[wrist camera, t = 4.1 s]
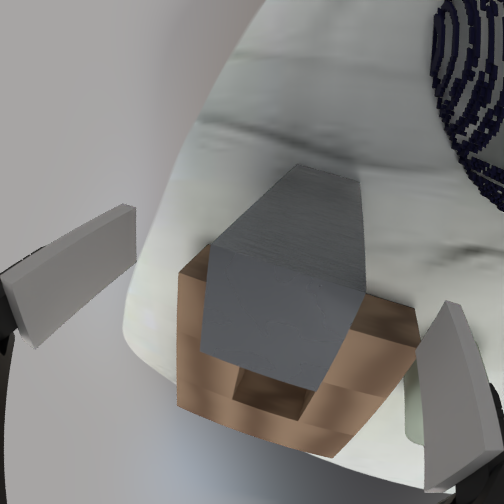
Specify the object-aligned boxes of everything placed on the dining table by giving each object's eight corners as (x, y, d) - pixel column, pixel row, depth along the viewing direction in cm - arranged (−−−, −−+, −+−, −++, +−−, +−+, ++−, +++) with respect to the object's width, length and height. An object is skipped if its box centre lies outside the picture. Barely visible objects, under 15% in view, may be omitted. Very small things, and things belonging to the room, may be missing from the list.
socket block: (414, 308, 22) (422, 349, 18) (338, 423, 31) (332, 458, 27) (208, 244, 26) (178, 272, 21) (196, 376, 34) (177, 405, 30)
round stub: (493, 342, 21) (512, 397, 15) (450, 395, 25) (456, 449, 19) (428, 323, 22) (440, 384, 16) (389, 382, 26) (387, 440, 20)
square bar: (359, 182, 20) (365, 293, 8) (342, 239, 22) (316, 392, 10) (297, 164, 21) (210, 244, 9) (284, 222, 23) (199, 351, 11)
